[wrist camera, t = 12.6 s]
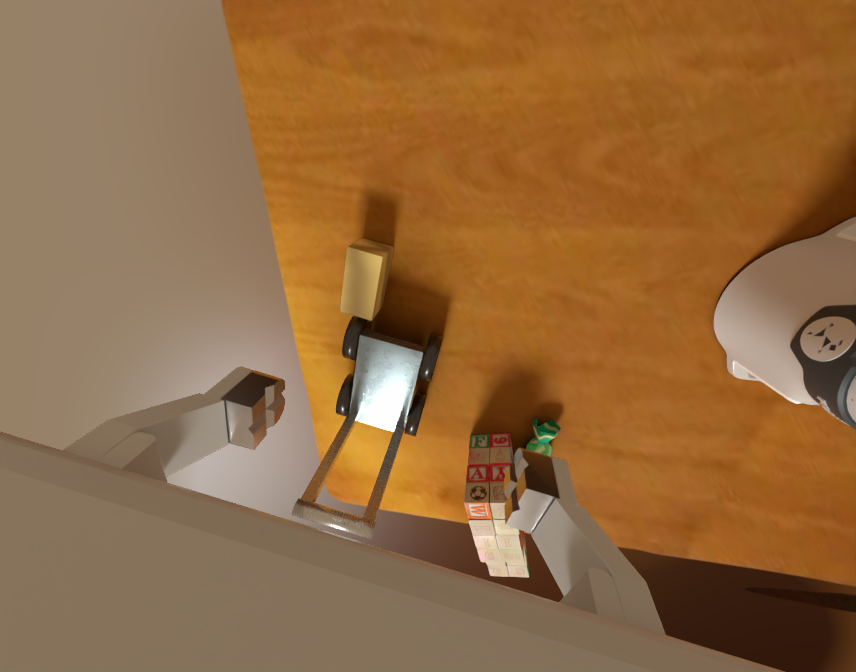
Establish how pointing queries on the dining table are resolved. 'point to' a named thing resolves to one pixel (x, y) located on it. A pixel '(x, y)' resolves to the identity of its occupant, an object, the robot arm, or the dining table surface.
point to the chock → (365, 278)
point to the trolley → (372, 413)
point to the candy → (543, 437)
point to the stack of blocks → (493, 506)
